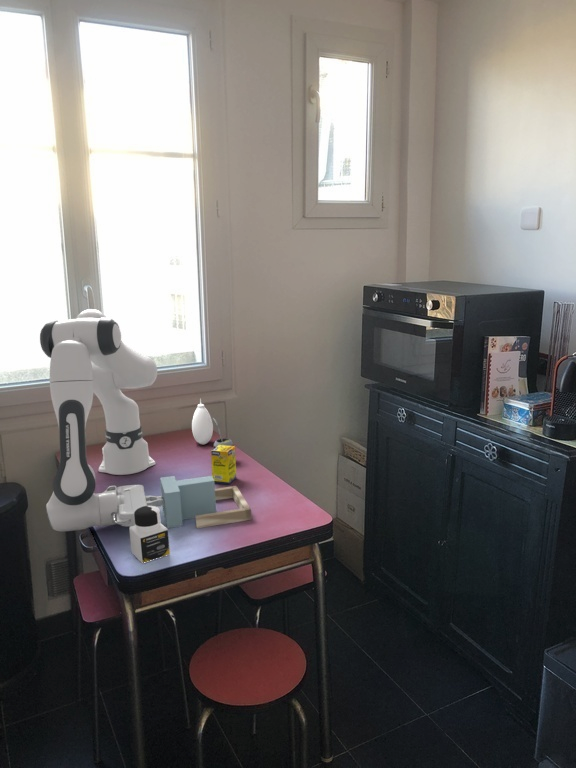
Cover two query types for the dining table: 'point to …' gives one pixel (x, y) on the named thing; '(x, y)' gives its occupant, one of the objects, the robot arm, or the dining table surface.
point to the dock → (226, 516)
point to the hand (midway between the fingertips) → (163, 500)
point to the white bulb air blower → (202, 425)
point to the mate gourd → (222, 439)
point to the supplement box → (223, 464)
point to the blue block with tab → (187, 498)
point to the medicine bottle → (148, 535)
